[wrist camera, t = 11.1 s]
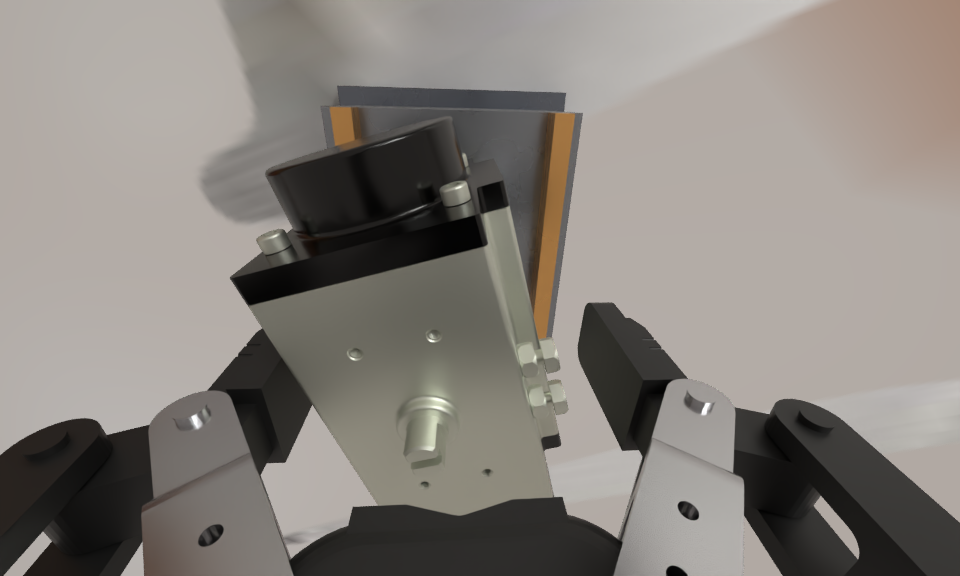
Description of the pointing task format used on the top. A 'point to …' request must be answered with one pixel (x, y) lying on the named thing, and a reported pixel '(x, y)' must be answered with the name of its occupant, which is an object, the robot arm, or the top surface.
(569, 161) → the orange-striped grey block
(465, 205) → the pneumatic valve
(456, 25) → the top surface
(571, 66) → the top surface
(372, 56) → the top surface
